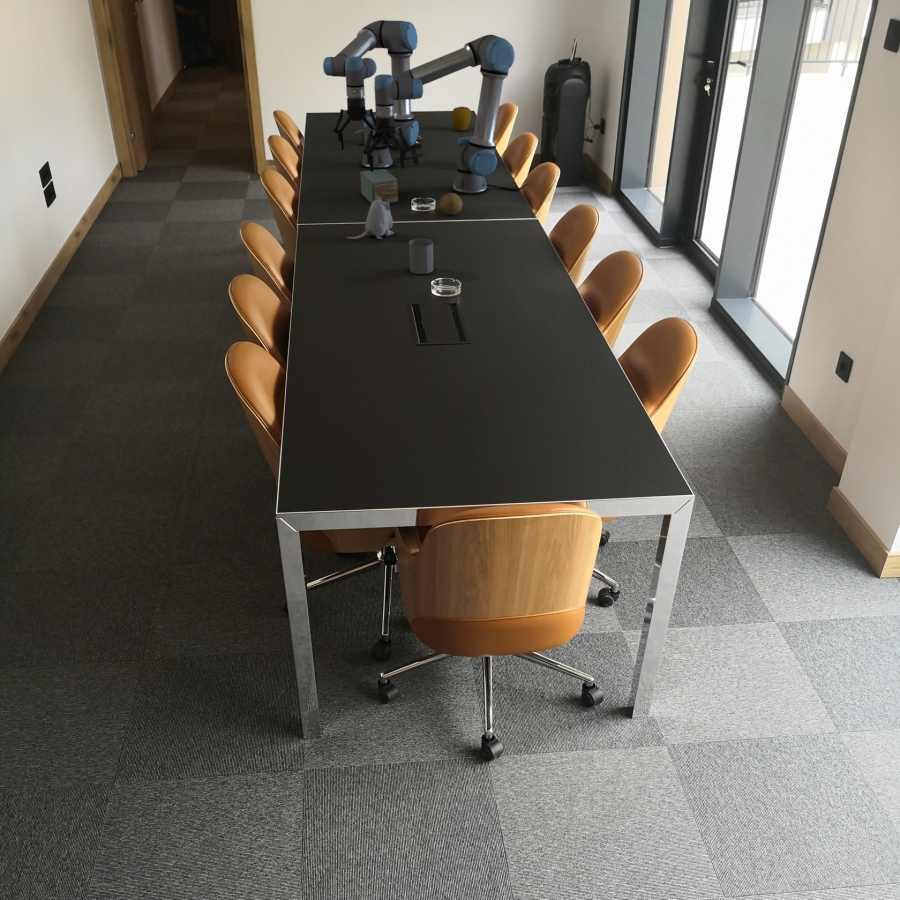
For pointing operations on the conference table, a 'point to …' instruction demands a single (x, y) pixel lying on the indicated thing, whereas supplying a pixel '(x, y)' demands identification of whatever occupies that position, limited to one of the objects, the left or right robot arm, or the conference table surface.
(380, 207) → the toy
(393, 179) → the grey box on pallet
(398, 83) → the right robot arm
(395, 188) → the drawer
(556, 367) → the conference table surface
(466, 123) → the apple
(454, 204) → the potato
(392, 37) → the left robot arm
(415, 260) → the cup
